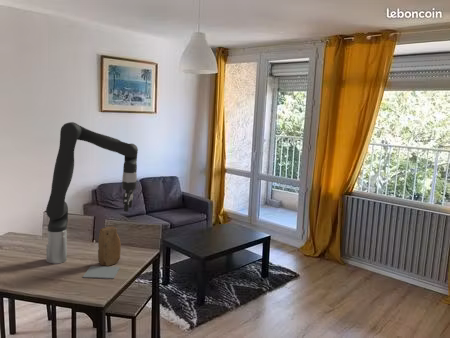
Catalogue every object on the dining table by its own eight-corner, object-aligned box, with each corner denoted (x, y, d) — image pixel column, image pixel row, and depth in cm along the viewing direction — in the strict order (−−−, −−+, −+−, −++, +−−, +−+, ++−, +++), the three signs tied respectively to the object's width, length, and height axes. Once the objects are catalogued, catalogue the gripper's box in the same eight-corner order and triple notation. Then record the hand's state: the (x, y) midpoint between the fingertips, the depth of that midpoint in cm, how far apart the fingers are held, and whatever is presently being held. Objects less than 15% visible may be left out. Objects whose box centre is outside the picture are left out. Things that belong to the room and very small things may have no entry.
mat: (82, 277, 184) (82, 276, 184) (91, 267, 197) (91, 266, 197) (113, 278, 185) (113, 277, 185) (119, 268, 197) (119, 267, 197)
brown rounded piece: (103, 267, 197) (103, 231, 194) (96, 263, 202) (97, 227, 199) (121, 263, 204) (122, 227, 201) (115, 258, 209) (115, 224, 207)
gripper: (125, 177, 211) (124, 205, 213) (119, 182, 197) (117, 212, 199) (139, 178, 211) (137, 206, 213) (133, 183, 197) (131, 213, 199)
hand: (127, 209), depth 206 cm, fingers open, 8 cm apart
